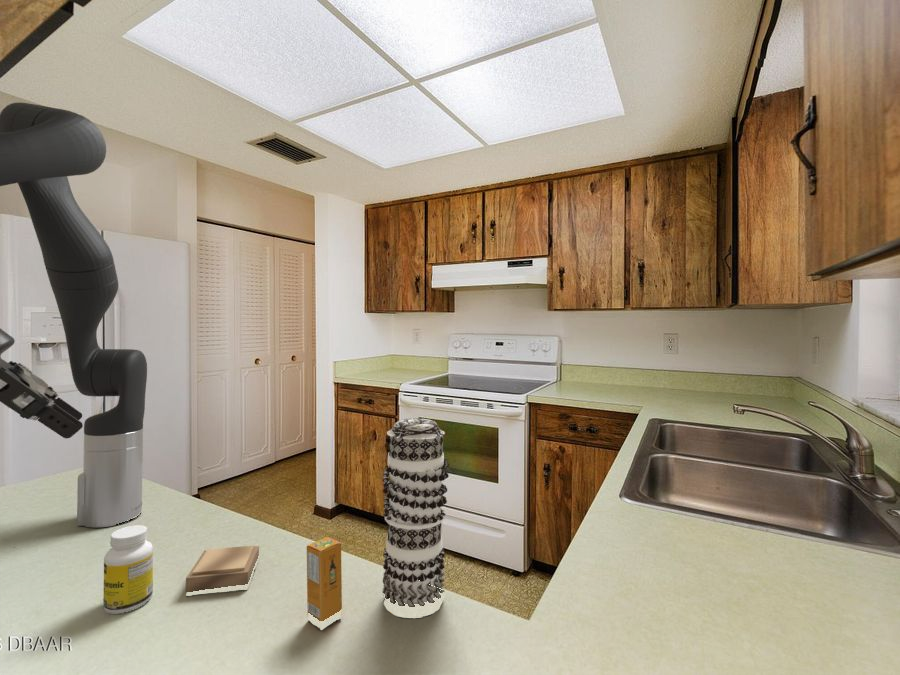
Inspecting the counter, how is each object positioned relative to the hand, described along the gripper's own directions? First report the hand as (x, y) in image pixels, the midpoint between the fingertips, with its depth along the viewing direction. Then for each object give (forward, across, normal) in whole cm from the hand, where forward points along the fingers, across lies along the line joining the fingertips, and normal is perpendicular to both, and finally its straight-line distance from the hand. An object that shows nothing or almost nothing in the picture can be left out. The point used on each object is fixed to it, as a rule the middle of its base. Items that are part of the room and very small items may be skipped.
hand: (76, 426), depth 55 cm
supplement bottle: (+22, +1, +14) cm, 26 cm away
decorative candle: (+43, -23, -8) cm, 50 cm away
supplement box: (+35, -19, 0) cm, 40 cm away
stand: (+30, -1, +5) cm, 30 cm away
